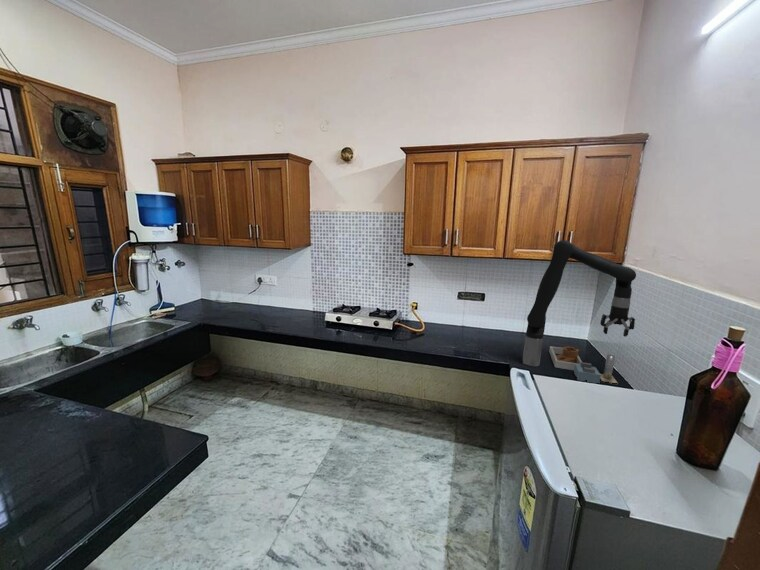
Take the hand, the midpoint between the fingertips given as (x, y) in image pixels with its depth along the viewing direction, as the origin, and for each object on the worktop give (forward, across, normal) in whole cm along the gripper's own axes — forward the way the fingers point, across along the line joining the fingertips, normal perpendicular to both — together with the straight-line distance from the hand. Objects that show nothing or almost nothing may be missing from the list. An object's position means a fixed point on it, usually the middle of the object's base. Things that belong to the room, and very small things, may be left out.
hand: (615, 334), depth 166 cm
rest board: (+26, 0, 0) cm, 26 cm away
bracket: (+26, -17, +18) cm, 36 cm away
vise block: (+26, -10, -2) cm, 28 cm away
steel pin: (+25, 0, 0) cm, 25 cm away
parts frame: (+26, -17, +18) cm, 36 cm away
